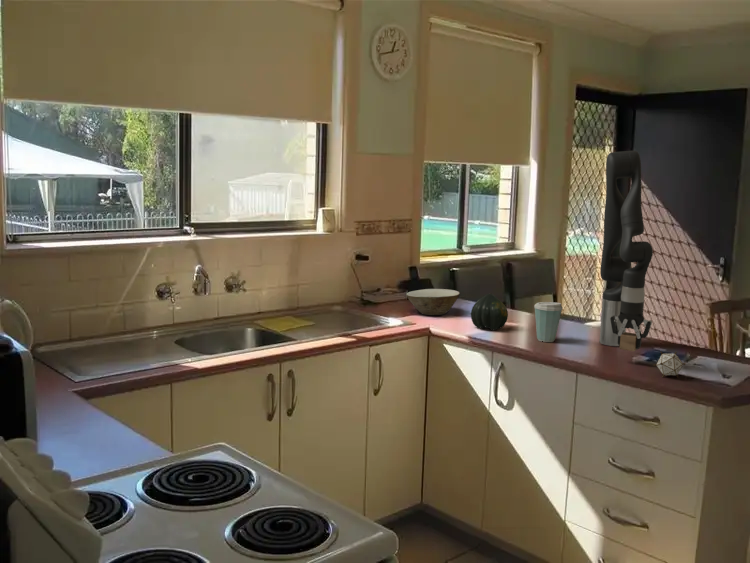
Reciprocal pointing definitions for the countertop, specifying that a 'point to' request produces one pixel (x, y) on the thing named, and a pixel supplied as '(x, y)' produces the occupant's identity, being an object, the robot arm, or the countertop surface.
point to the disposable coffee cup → (547, 320)
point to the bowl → (433, 300)
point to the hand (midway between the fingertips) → (628, 347)
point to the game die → (669, 364)
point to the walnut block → (628, 341)
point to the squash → (489, 313)
